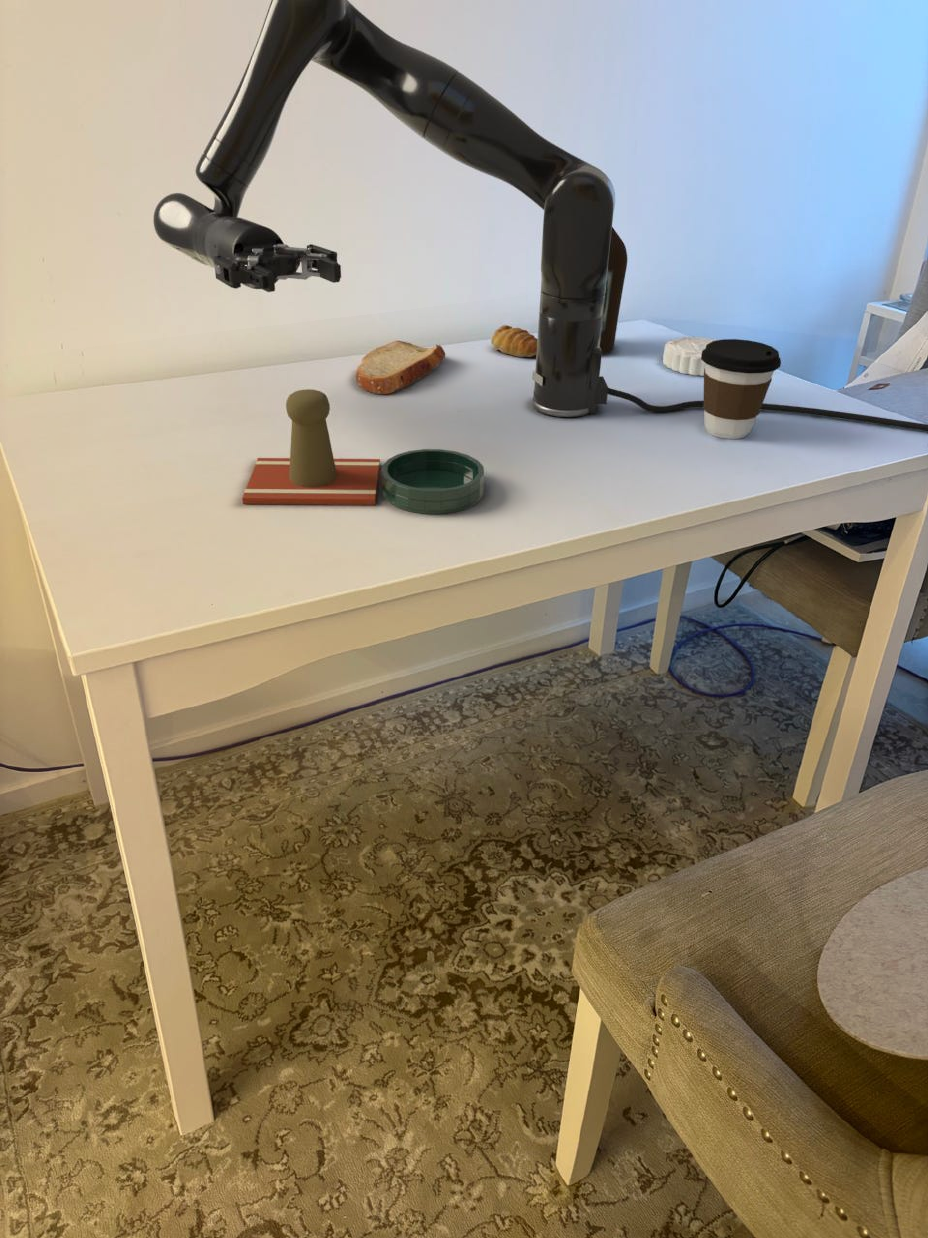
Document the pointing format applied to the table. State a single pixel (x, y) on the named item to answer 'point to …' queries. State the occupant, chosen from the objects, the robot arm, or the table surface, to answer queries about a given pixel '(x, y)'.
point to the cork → (310, 439)
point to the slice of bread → (396, 366)
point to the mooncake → (686, 355)
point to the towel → (348, 489)
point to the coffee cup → (735, 384)
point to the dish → (432, 481)
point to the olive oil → (613, 292)
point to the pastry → (514, 341)
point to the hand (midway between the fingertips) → (305, 277)
